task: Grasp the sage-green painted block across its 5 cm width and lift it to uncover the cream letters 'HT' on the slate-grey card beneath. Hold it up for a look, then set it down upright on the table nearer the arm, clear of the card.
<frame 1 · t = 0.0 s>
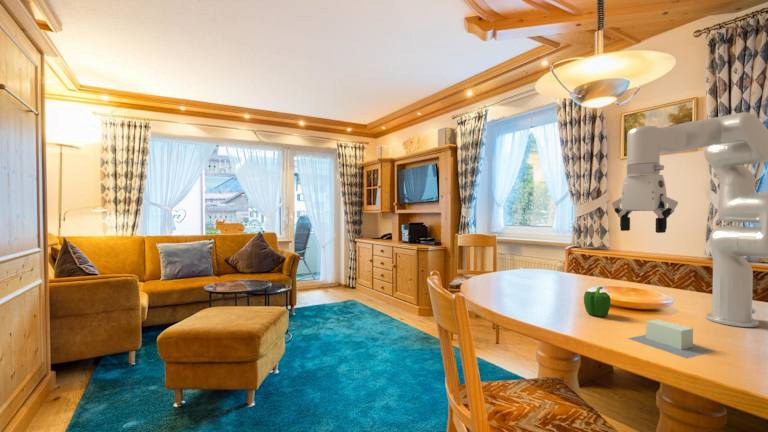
hand: (642, 231, 102), 31 cm above the table, fingers open, 9 cm apart
code card: (669, 344, 100), on the table
sage block: (668, 342, 101), on the table, touching code card
bell pepper: (597, 315, 128), on the table
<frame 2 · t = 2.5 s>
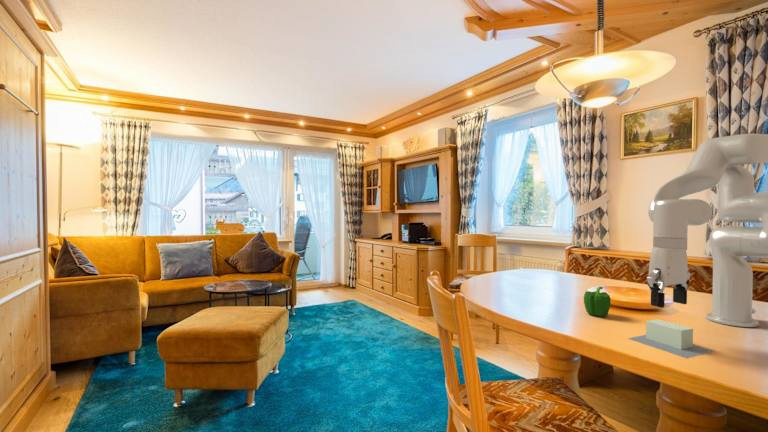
hand: (668, 304, 101), 11 cm above the table, fingers open, 9 cm apart
nothing on the table moved.
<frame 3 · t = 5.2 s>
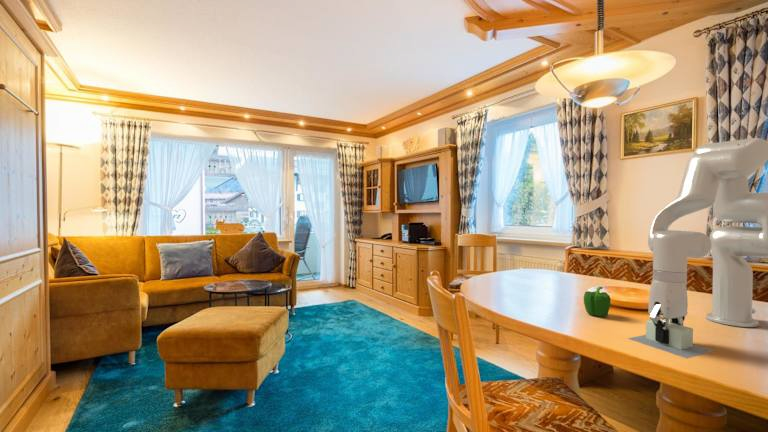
hand: (668, 340, 101), 1 cm above the table, fingers closed on sage block, 5 cm apart
sage block: (668, 342, 101), on the table, touching code card, gripper
everything else where it was.
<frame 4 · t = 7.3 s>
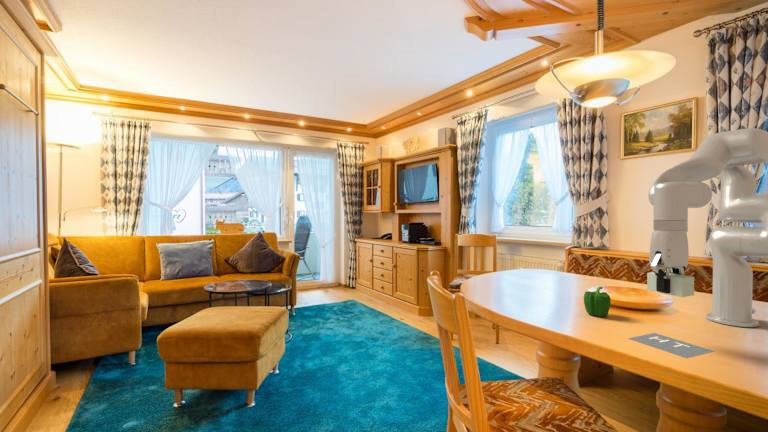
hand: (669, 290, 101), 15 cm above the table, fingers closed on sage block, 5 cm apart
sage block: (669, 292, 101), point 14 cm above the table, touching gripper
everything else where it was.
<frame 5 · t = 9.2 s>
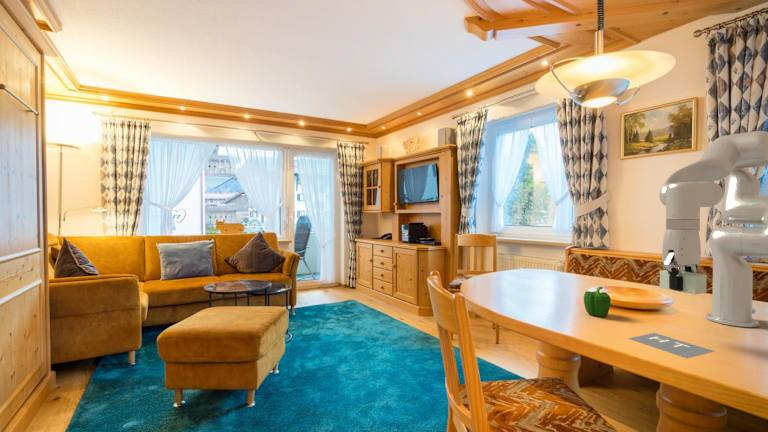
hand: (682, 288, 103), 15 cm above the table, fingers closed on sage block, 5 cm apart
sage block: (682, 290, 103), point 14 cm above the table, touching gripper
everything else where it was.
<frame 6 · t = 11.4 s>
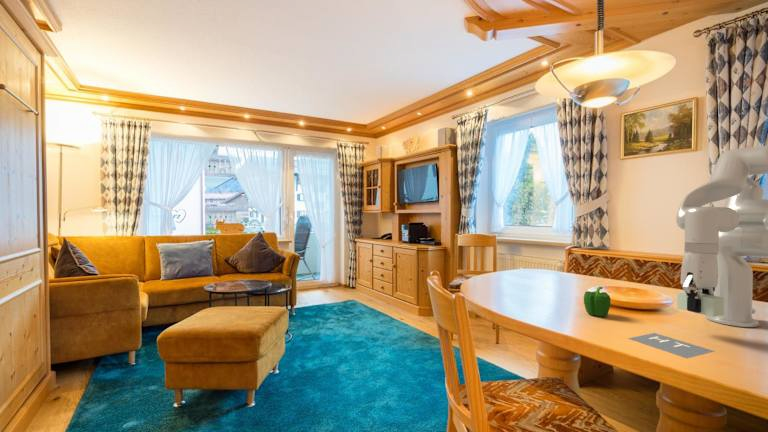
hand: (699, 310, 106), 8 cm above the table, fingers closed on sage block, 5 cm apart
sage block: (699, 311, 106), point 7 cm above the table, touching gripper
everything else where it was.
when the fingers open (2 cm above the table, at t = 13.3 s): sage block drops 2 cm, on the table.
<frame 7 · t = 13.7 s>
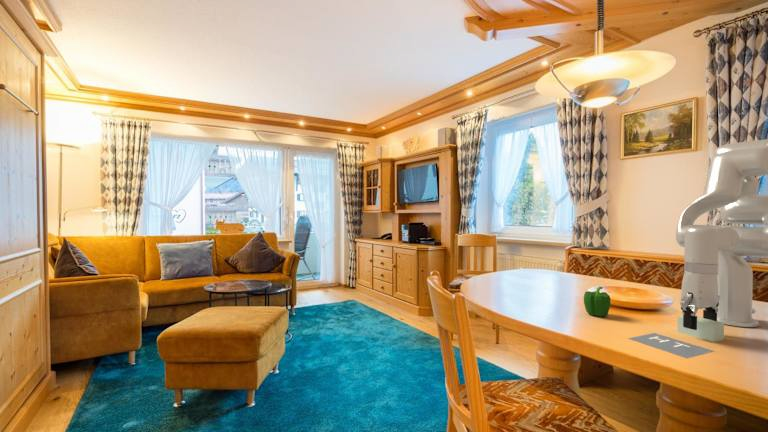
hand: (700, 326, 107), 3 cm above the table, fingers open, 9 cm apart
sage block: (699, 336, 107), on the table
everything else where it was.
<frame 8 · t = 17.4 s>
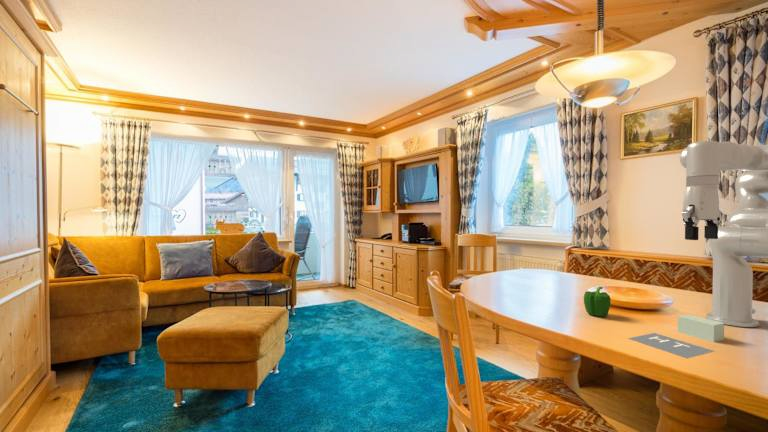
hand: (701, 239, 109), 28 cm above the table, fingers open, 9 cm apart
nothing on the table moved.
at the end: sage block inside the target area (0.1 cm from its centre), on the table; sage block touching table; sage block tilted 0° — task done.
